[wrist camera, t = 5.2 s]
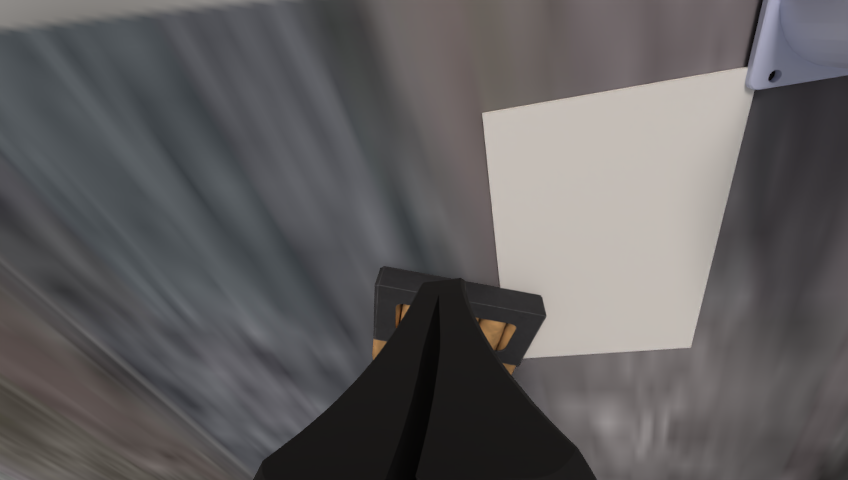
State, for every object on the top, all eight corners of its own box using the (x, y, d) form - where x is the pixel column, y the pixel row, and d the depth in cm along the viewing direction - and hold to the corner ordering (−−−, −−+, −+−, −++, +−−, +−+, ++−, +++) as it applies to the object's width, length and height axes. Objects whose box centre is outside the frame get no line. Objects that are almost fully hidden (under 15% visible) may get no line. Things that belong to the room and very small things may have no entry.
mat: (755, 64, 17) (760, 65, 16) (688, 344, 25) (690, 347, 25) (481, 112, 19) (482, 114, 18) (507, 356, 27) (507, 359, 27)
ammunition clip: (380, 265, 24) (370, 375, 31) (374, 284, 22) (364, 395, 29) (542, 295, 24) (495, 398, 30) (547, 316, 22) (496, 420, 29)
